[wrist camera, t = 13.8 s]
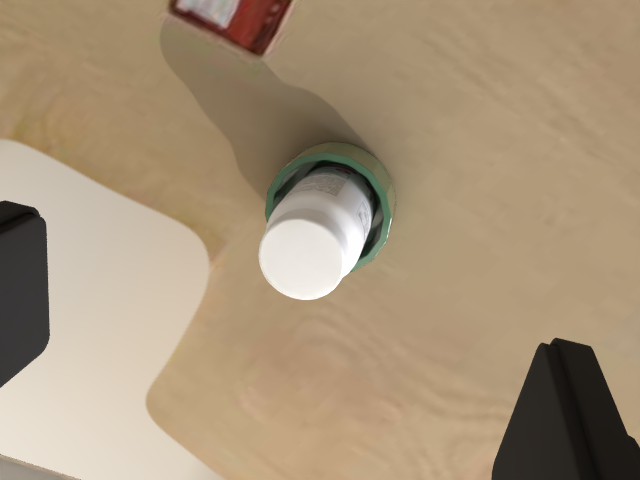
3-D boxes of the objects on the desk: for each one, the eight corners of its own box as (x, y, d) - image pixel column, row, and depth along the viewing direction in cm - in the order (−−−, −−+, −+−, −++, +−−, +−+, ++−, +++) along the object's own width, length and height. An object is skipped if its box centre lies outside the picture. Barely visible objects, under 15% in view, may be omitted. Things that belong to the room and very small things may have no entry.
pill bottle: (279, 205, 34) (228, 261, 26) (329, 145, 32) (290, 186, 24) (341, 257, 34) (308, 326, 27) (394, 200, 32) (375, 258, 25)
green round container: (258, 182, 34) (241, 196, 31) (351, 118, 32) (341, 127, 29) (323, 272, 35) (313, 294, 33) (418, 217, 33) (415, 236, 30)
